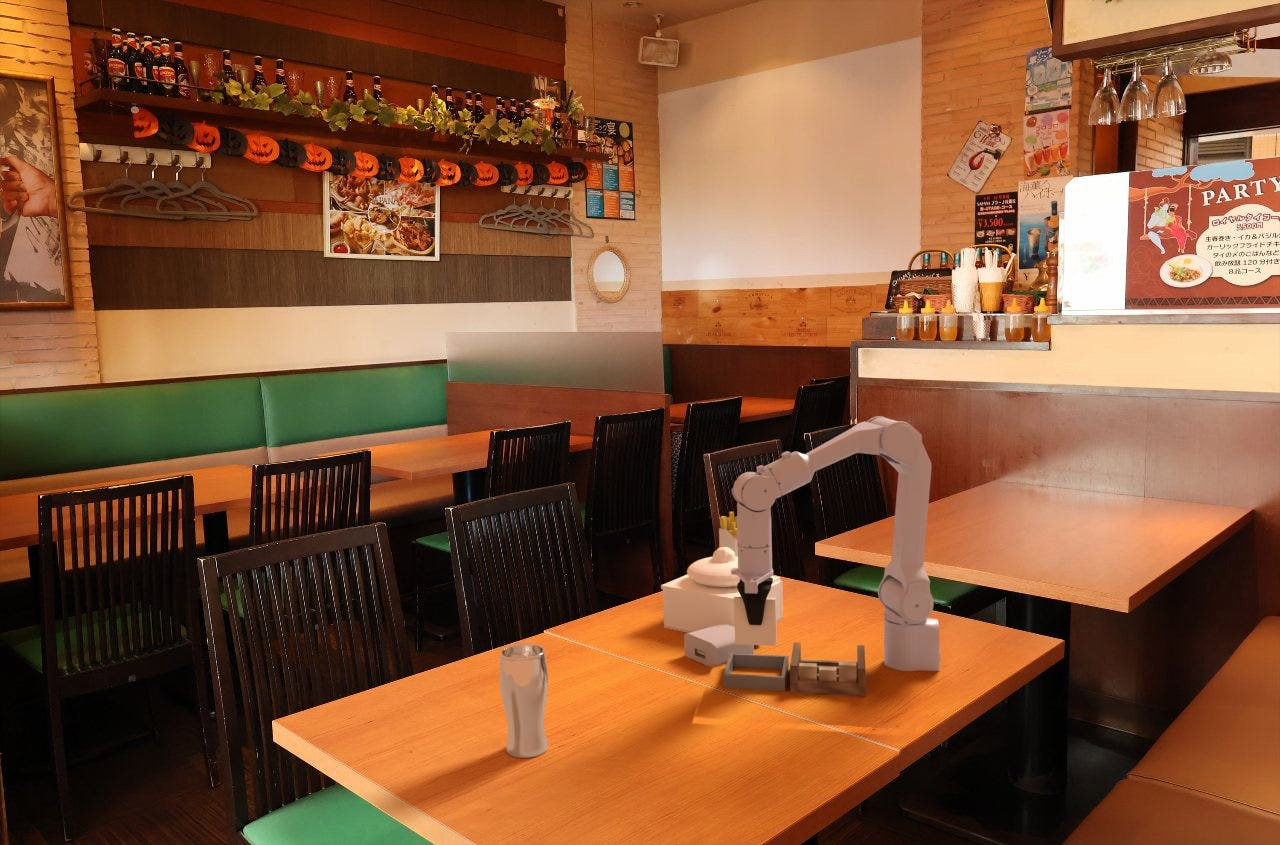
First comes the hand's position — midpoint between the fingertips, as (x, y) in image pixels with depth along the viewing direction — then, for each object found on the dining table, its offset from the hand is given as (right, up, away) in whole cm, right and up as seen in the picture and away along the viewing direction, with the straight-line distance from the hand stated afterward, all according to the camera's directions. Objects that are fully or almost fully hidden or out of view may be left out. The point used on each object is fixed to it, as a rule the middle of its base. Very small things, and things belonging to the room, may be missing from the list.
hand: (755, 622), depth 164 cm
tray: (0, -10, +1) cm, 10 cm away
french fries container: (+4, -4, +55) cm, 56 cm away
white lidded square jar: (-3, -7, +33) cm, 34 cm away
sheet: (0, -4, 0) cm, 4 cm away
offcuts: (+11, -10, -5) cm, 16 cm away
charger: (-3, -9, +16) cm, 18 cm away
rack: (+12, -10, -1) cm, 16 cm away
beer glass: (-36, -14, -21) cm, 44 cm away
